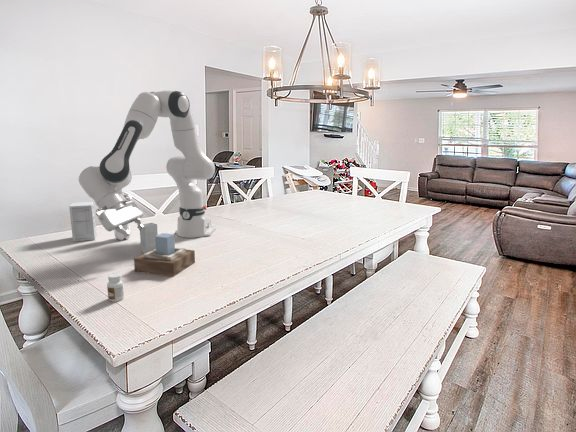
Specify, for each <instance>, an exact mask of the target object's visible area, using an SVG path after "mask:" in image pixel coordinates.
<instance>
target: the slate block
mask: <svg viewBox="0 0 576 432" xmlns="http://www.w3.org/2000/svg"><path fill="white" fill-rule="evenodd" d="M175 241H176V240H175V233H163V232H162V233H160V234H158V235H157V236H155V243H156V254H159V255H168V256H169V255H171V254H173V253H175V248H176V247H175V246H176V244H175Z"/></svg>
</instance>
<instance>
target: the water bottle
mask: <svg viewBox="0 0 576 432" xmlns="http://www.w3.org/2000/svg"><path fill="white" fill-rule="evenodd" d="M117 192H118V194H123V195H125V193H124V192H125V191H124V188H121V189H119V190H117ZM122 227H123V229H125V230H126V231H127V230H128V231H129V232H130V235H129V236H127V237H125V236H124V235H123V234H121V233H119V232H118V231H117V230H116V229H115V230H113V233H114V237H115V238H116V240H119V241H123V240H124V239H125V240H129V239H130V236H131V234H132V232H131V231H132V230H131V227H130V223H129V224H126V225H124V226H122Z"/></svg>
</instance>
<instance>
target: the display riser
mask: <svg viewBox="0 0 576 432" xmlns="http://www.w3.org/2000/svg"><path fill="white" fill-rule="evenodd" d="M195 255H196V253H195V250H193V249H192V250H191V249H186V248H181V247H175V253H173V254H171V255H169V256H168V255H159V254H156V248H155V249H153V250H151V251H149V252H147V253H143V254H141V255H139V256H137V257H135V258H134V259H133V265H134V272H135V273H142V274H143V273H144V274H151V275H157V276H169V277H175V276H178V274H180V273H181V272H183V271H184V270H186V269H187V268H189V267H190V266H191V265H194V264H195V263H196V260H195V259H196V257H195Z"/></svg>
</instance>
